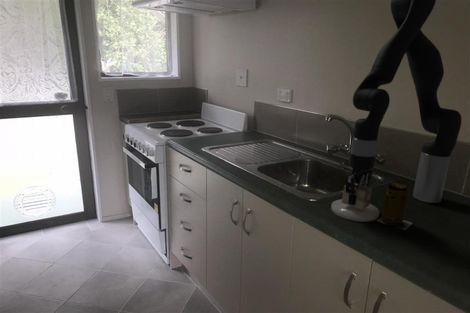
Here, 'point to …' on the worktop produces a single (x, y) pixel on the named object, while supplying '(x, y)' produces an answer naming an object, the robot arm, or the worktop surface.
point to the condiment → (395, 206)
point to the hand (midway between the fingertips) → (355, 202)
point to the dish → (355, 212)
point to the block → (358, 197)
